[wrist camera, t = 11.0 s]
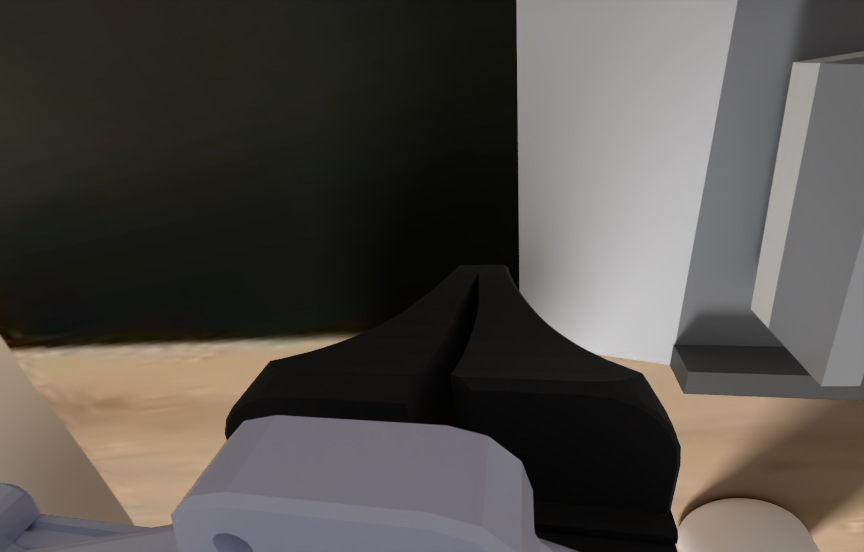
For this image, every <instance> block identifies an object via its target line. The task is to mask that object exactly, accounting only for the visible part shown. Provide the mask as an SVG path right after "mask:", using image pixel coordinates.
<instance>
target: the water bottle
mask: <svg viewBox="0 0 864 552" xmlns="http://www.w3.org/2000/svg"><path fill="white" fill-rule="evenodd" d="M677 544H678V548H679V552H820V551H819V549H818V547H817V545H816V544H815V542H814V540H813V538H812V537H811V535H810V534H809V532H808V530H807V529H806V528H805V526H804V525H803V524H802V522H801V521H800V520H799V519H798V518H797V517H796V516H794V515H793V514H792V513H790V512H789V511H787V510H785V509H783V508H781V507H779V506H777V505H774V504H772V503H768V502H765V501H761V500H756V499H748V498H730V499H722V500H717V501H713V502H710V503H707V504H705V505H702V506H700V507H698V508H697V509H695V510H693V511H692V512H691V513H690V514H688V515H687V516H686V517H685V519H684V520H683V521H682V523H681V524H680V526H679V529H678V541H677Z"/></svg>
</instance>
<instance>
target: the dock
mask: <svg viewBox="0 0 864 552" xmlns="http://www.w3.org/2000/svg"><path fill="white" fill-rule="evenodd" d="M516 1H517V98H518V195H519V291H520V293H521V294H522V295H523V297H524V298H525V300H526V301H527V302H528V303H529V305H530V306H531V307H532V308H533V309H534V310H535V312H536V313H537V314H538V315H539V316H540V317H541V318H542V319H543V320H544V321H545V322H546V323H547V324H548V325H550V326H551V327H552V328H553V329H555V330H556V331H557V332H559V333H560V334H562V335H563V336H565V337H566V338H567V339H569V340H570V341H572V342H574V343H575V344H577V345H579V346H580V347H582V348H584V349H586V350H588V351H590V352H592V353H594V354H597V355H604V356H611V357H618V358H625V359H632V360H639V361H646V362H653V363H660V364H667V365H670V366H671V368H672V370H673V372H674V374H675V377H676V379H677V381H678V383H679V385H680V387H681V389H682V391H683V393H684V394H708V395H732V396H757V397H781V398H806V399H830V400H854V401H864V376H863V379H862V382H861V385H860V386H820V385H819V383H818V382H817V381H816V380H815V379H814V378H813V377H812V376H811V375H810V374H809V373H808V371H807V370H806V369H805V368H804V367H803V366H802V365H801V364H800V363H799V362H798V360H797V359H796V358H795V357H794V356H793V355H792V354H791V353H790V352H789V351H788V350H787V348H786V347H785V346H784V345H783V344H782V343H781V342H780V341H779V340H778V339H777V337H776V336H775V335H774V334H773V333H772V332H771V331H770V330H769V329H768V328H767V327H766V325H765V324H764V323H763V322H762V321H761V320H760V319H759V318H758V317H757V316H756V314H755V313H754V312H753V311H752V310H751V304H752V298H753V293H754V287H755V281H756V275H757V269H758V263H759V258H760V252H761V246H762V240H763V234H764V228H765V223H766V217H767V211H768V205H769V199H770V193H771V188H772V182H773V176H774V170H775V164H776V158H777V153H778V147H779V141H780V135H781V129H782V123H783V118H784V112H785V106H786V100H787V94H788V88H789V83H790V77H791V71H792V65H793V62H798V61H805V60H811V59H817V58H824V57H830V56H836V55H842V54H849V53H855V52H861V51H864V0H516Z"/></svg>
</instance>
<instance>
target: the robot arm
mask: <svg viewBox="0 0 864 552" xmlns="http://www.w3.org/2000/svg"><path fill="white" fill-rule="evenodd" d="M225 435H226V439H227V441H226V443H225V444H224V445H223V446H222V448H221V449H220V450H219V452H218V453H217V454H216V456H215V457H214V458H213V460H212V461H211V462H210V464H209V465H208V466H207V468H206V469H205V470H204V472H203V473H202V474H201V476H200V477H199V478H198V480H197V481H196V482H195V484H194V485H193V486H192V488H191V489H190V490H189V492H188V493H187V494H186V496H185V497H184V498H183V500H182V501H181V502H180V504H179V505H178V506H177V508H176V509H175V510H174V512H173V513H172V514H171V516H172V523H173V524H171V525H165V526H160V527H154V528H148V527H140V526H132V525H124V524H115V523H108V522H100V521H92V520H84V519H76V518H67V517H60V516H53V515H45V514H41V512H40V508H39V507H38V505H37V503H36V502H35V500H34V499H33V498H32V497H31V496H30V495H29V494H28V493H27V492H26V491H25V490H23V489H21V488H20V487H18V486H15V485H12V484H5V483H0V552H677V549H676V546H675V543H676V544H677V541H678V531H677V528H676V525H675V522H674V519H673V516H672V513H671V510H670V509H671V505H672V500H673V496H674V491H675V486H676V482H677V477H678V473H679V468H680V452H681V447H680V444H679V442H678V439H677V436H676V433H675V430H674V428H673V425H672V423H671V421H670V419H669V417H668V415H667V413H666V411H665V409H664V407H663V406H662V404H661V402H660V401H659V399H658V397H657V396H656V394H655V393H654V391H653V389H652V388H651V386H650V385H649V383H648V382H647V380H646V378H645V377H644V375H643V374H642V373H640V372H637V371H634V370H632V369H629V368H627V367H624V366H621V365H619V364H616V363H614V362H611V361H608V360H606V359H604V358H602V357H600V356H598V355H596V354H594V353H592V352H590V351H588V350H586V349H584V348H582V347H580V346H579V345H577V344H575V343H574V342H572V341H570V340H569V339H567V338H566V337H565V336H563V335H562V334H560V333H559V332H557V331H556V330H555V329H553V328H552V327H551V326H550V325H548V324H547V323H546V322H545V321H544V320H543V319H542V318H541V317H540V316H539V315H538V314H537V313H536V312H535V310H534V309H533V308H532V307H531V306H530V305H529V303H528V302H527V301H526V300H525V298H524V297H523V295H522V294H521V293H520V291H519V290H518V288H517V286H516V285H515V283H514V281H513V279H512V277H511V275H510V273H509V268H508V267H506V266H505V265H460V266H459V267H457V268H456V269H455V270H454V271H453V272H452V273H451V274H450V275H449V276H448V277H446V278H445V279H444V280H443V281H442V282H441V283H440V284H439V285H437V286H436V287H435V288H434V289H433V290H432V291H431V292H429V293H428V294H427V295H425V296H424V297H423V298H421V299H420V300H419V301H417V302H416V303H415V304H413V305H412V306H411V307H409V308H408V309H406V310H405V311H403V312H402V313H400V314H399V315H397V316H395V317H393V318H392V319H390V320H388V321H387V322H385V323H383V324H381V325H379V326H377V327H375V328H372V329H370V330H368V331H366V332H364V333H362V334H359V335H357V336H355V337H353V338H350V339H347V340H345V341H342V342H339V343H337V344H333V345H330V346H327V347H324V348H321V349H318V350H314V351H311V352H307V353H303V354H299V355H295V356H291V357H287V358H283V359H278V360H273V361H270V362H269V363H268V364H267V366H266V367H265V368H264V369H263V370H262V372H261V373H260V374H259V375H258V377H257V378H256V379H255V380H254V382H253V383H252V384H251V385H250V387H249V388H248V389H247V390H246V391H245V393H244V394H243V395H242V396H241V398H240V399H239V400H238V401H237V403H236V404H235V405H234V406H233V408H232V410H231V411H230V413H229V415H228V417H227V419H226V428H225Z"/></svg>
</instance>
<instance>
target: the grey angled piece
mask: <svg viewBox="0 0 864 552" xmlns="http://www.w3.org/2000/svg"><path fill="white" fill-rule="evenodd" d="M751 310H752V311H753V312H754V313H755V314H756V316H757V317H758V318H759V319H760V320H761V321H762V322H763V323H764V324H765V325H766V327H767V328H768V329H769V330H770V331H771V332H772V333H773V334H774V335H775V336H776V337H777V339H778V340H779V341H780V342H781V343H782V344H783V345H784V346H785V347H786V348H787V350H788V351H789V352H790V353H791V354H792V355H793V356H794V357H795V358H796V359H797V360H798V362H799V363H800V364H801V365H802V366H803V367H804V368H805V369H806V370H807V371H808V373H809V374H810V375H811V376H812V377H813V378H814V379H815V380H816V381H817V382H818V383H819V385H820V386H860V385H861V382H862V379H863V376H864V51H861V52H855V53H849V54H842V55H836V56H830V57H824V58H817V59H811V60H805V61H798V62H793V65H792V71H791V77H790V83H789V88H788V94H787V100H786V106H785V112H784V118H783V123H782V129H781V135H780V141H779V147H778V153H777V158H776V164H775V170H774V176H773V182H772V188H771V193H770V199H769V205H768V211H767V217H766V223H765V228H764V234H763V240H762V246H761V252H760V258H759V263H758V269H757V275H756V281H755V287H754V293H753V298H752V304H751Z"/></svg>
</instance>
